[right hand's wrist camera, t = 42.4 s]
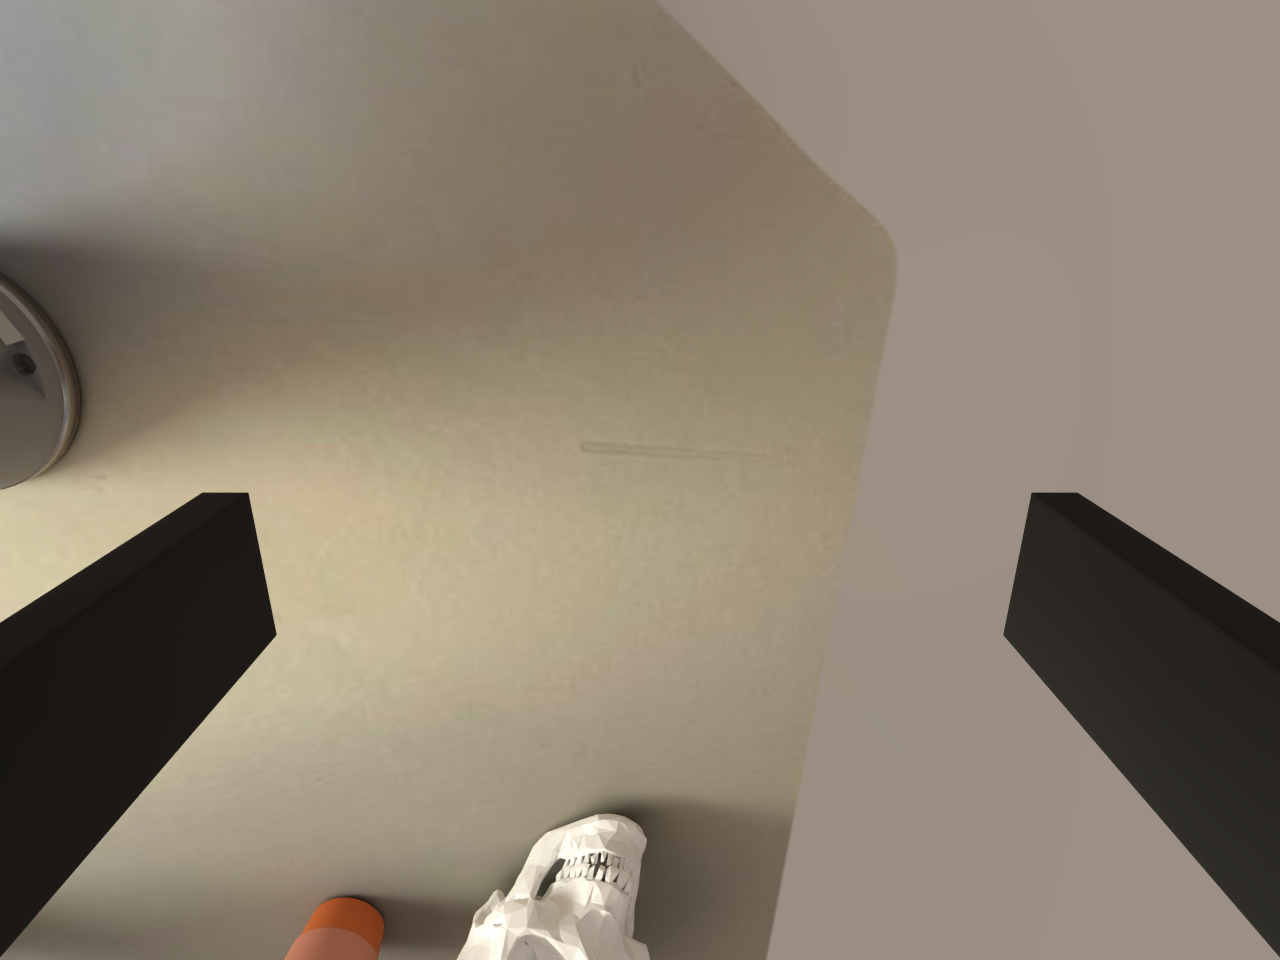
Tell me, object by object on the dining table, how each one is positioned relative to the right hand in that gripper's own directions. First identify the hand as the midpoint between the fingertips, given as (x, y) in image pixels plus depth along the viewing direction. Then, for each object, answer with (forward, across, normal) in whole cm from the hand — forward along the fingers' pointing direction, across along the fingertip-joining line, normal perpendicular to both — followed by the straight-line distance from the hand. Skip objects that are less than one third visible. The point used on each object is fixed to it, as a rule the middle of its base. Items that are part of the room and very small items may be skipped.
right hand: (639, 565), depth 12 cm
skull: (+35, -6, -48) cm, 60 cm away
